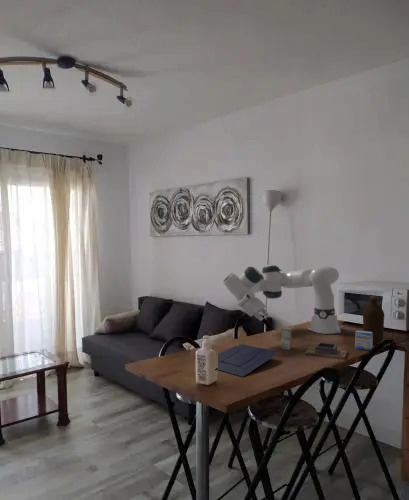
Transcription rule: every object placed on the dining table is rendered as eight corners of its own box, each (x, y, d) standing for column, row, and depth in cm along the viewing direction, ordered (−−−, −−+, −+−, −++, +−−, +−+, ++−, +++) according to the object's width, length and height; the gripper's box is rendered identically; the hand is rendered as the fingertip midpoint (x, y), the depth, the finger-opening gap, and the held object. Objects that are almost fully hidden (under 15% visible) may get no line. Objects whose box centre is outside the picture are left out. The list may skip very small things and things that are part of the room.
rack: (309, 348, 203) (309, 340, 202) (347, 352, 195) (347, 344, 195) (305, 354, 192) (305, 346, 192) (344, 359, 184) (344, 350, 184)
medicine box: (355, 348, 202) (355, 331, 202) (356, 346, 206) (356, 330, 206) (371, 350, 198) (371, 333, 198) (372, 348, 202) (372, 331, 202)
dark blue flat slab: (281, 357, 183) (281, 350, 182) (243, 383, 161) (243, 374, 160) (238, 348, 199) (238, 341, 198) (198, 370, 176) (198, 362, 176)
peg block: (283, 347, 206) (283, 327, 206) (291, 347, 205) (291, 328, 204) (281, 348, 203) (281, 329, 202) (289, 349, 201) (289, 330, 201)
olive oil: (378, 346, 205) (378, 298, 205) (358, 342, 214) (358, 296, 213) (388, 343, 212) (388, 296, 212) (369, 339, 220) (369, 294, 220)
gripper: (249, 299, 222) (266, 318, 218) (236, 305, 204) (254, 326, 200) (257, 292, 220) (274, 311, 216) (244, 297, 202) (263, 317, 198)
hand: (265, 318), depth 208 cm, fingers open, 8 cm apart
